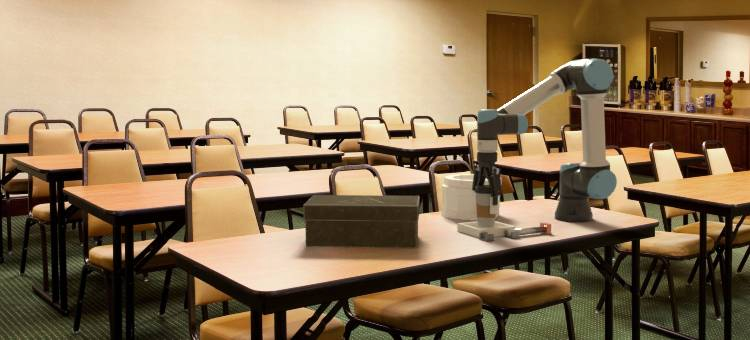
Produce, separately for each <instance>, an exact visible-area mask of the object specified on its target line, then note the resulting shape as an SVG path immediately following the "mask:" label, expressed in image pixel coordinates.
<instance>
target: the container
mask: <svg viewBox="0 0 750 340" xmlns="http://www.w3.org/2000/svg"><path fill="white" fill-rule="evenodd" d="M473 177H474V173H461V174H460V173H459V174H451V175H446V176H444V177H443V184H442V185H441V209H440V211H441V213H440V214H441V216H442V217H444V218H447V219H450V220H451V219H453V220H456V219H461V220H462V221H477V211H476V193H475V191H473V190H472V185H473ZM500 178H501V186H502V183H503V177H501V176H500ZM484 185H489V182H488V179H485V183H484ZM500 198H501V195H499V196H498V205H497V214H496V218H495V219H497V218H498V217H499V216H500V206H501V204H500V202H501V200H500ZM461 220H460V221H461Z"/></svg>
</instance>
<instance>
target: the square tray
mask: <svg viewBox="0 0 750 340" xmlns="http://www.w3.org/2000/svg"><path fill="white" fill-rule="evenodd" d="M456 225H457V227H456V228H457V230H456V231H457V232H458V233H462V234H466V235H468V236H472V237H475V238H478V239H479V233H480V232H488V233H487V234H494V238H496V237H505V236H504V230H508V229H517V227H516V226H515V225H512V224H508V223H504V222H501V221H496V220H495V225H494V227H489V228H485V227H479V226H478V223H477V220H475V221H469V222H468V221H467V222H458V223H457V224H456Z"/></svg>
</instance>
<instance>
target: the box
mask: <svg viewBox="0 0 750 340" xmlns="http://www.w3.org/2000/svg"><path fill="white" fill-rule="evenodd" d="M420 198H421V197H420V196H419V195H371V194H370V195H367V194H365V195H363V194H362V195H360V194H359V195H358V194H357V195H354V194H353V195H350V194H349V195H347V194H345V195H344V194H342V195H341V194H340V195H339V194H337V195H336V194H313V195H312V196H311V197H310V198H309V199H308V200H307V201H306V202H305V203H303V210H302V211H303V221H304V224H305V227H304V228H305V247H307V248H308V247H309V248H311V247H312V248H314V247H315V248H316V247H317V248H319V247H320V248H321V247H322V248H369V249H370V248H373V249H374V248H376V249H377V248H378V249H379V248H381V249H382V248H383V249H386V248H387V249H388V248H389V249H392V248H393V249H417V248H418V247H417V246H418V239H419V218H420V212H421V211H420V205H421V203H420Z"/></svg>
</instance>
